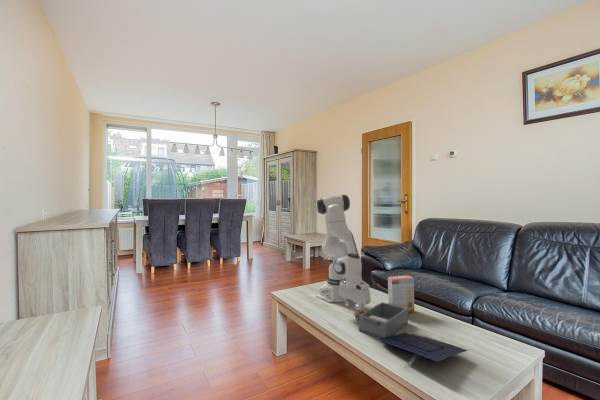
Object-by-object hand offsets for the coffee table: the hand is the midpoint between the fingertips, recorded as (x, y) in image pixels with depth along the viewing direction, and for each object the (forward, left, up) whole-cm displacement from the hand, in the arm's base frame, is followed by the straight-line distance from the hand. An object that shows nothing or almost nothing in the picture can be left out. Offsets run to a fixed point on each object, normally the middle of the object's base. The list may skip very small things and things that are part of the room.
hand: (353, 307), depth 160 cm
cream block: (+17, -4, -6) cm, 18 cm away
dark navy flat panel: (+40, -9, -7) cm, 42 cm away
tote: (+17, +3, -7) cm, 18 cm away
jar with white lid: (+2, +3, -7) cm, 7 cm away
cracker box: (+15, +29, -7) cm, 33 cm away
